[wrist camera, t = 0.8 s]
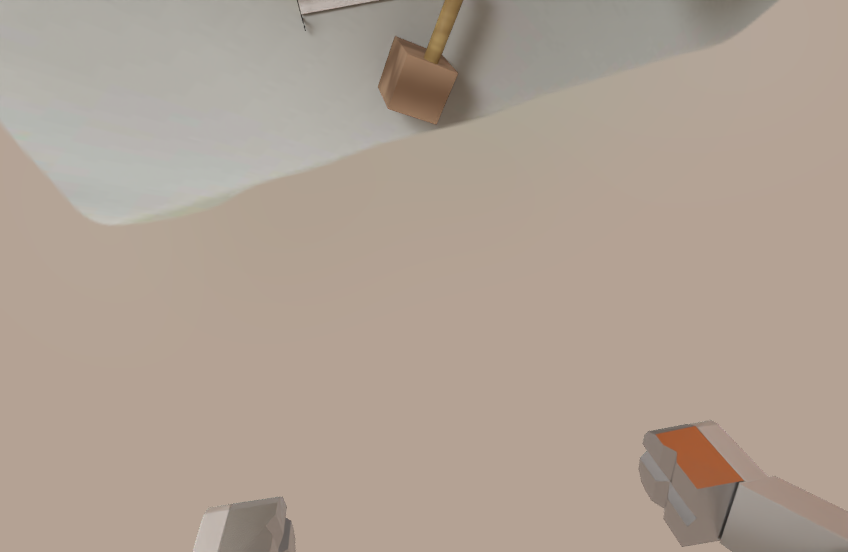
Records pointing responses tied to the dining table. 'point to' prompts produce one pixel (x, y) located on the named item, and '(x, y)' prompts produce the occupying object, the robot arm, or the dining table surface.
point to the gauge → (421, 71)
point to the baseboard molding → (325, 5)
